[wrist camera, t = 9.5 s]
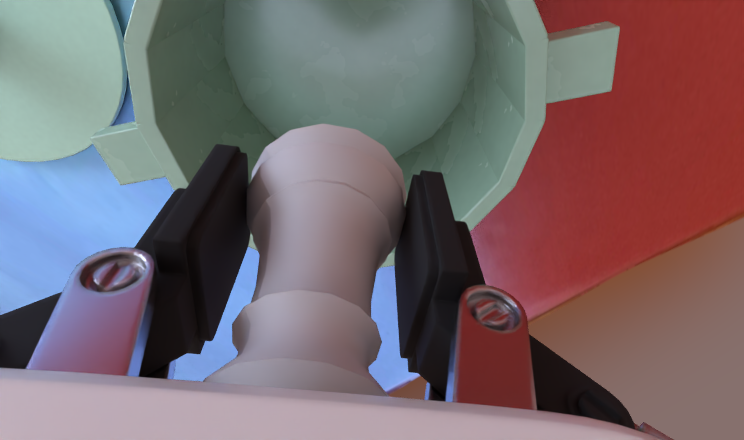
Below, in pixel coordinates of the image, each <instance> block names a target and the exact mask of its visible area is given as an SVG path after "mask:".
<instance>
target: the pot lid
mask: <svg viewBox="0 0 744 440" xmlns="http://www.w3.org/2000/svg"><path fill="white" fill-rule="evenodd" d="M126 84H127V64H126V58H125V51H124V45H123V37H122V32H121V29H120V26H119V23H118V20H117V17H116V14H115V11H114V9H113V6H112V4H111V2H110V0H0V158H1V159H6V160H14V161H23V162H43V161H50V160H58V159H61V158H65V157H69V156H72V155H74V154H77V153H79V152H81V151H83V150H85V149H87V148H88V147H89V146H91V145H92V144H93V143H92V142H91V140H90V137H91V136H92V135H94V134H95V133H96V132H97V131H99V130H100V129H101V128H106V127H110V126H112V124H113V123H114V121H115V120H116V118H117V117H118V114H119V112H120V109H121V107H122V104H123V101H124V96H125V92H126Z"/></svg>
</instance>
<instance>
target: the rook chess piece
mask: <svg viewBox="0 0 744 440" xmlns="http://www.w3.org/2000/svg"><path fill="white" fill-rule="evenodd" d="M406 198H407V194H406V189H405V183H404V178H403V173H402V169H401V168H400V167H399V165H398V164H397V163H396V161H395V160H394V159H393V157H392V156H391V154H390V153H389V152H388V150H387V149H386V148H385V146H383V145H382V144H380V143H378V142H377V141H375V140H373V139H372V138H370V137H368V136H367V135H365V134H363V133H362V132H360V131H358V130H357V129H351V128H346V127H340V126H334V125H329V124H318V125H313V126H308V127H303V128H298V129H293V130H290V131H288V132H287V133H285V134H284V135H282V136H281V137H279V138H278V139H277V140H275V141H274V142H272V143H271V144H269V145H268V146H266V147H265V149H264V151H263V152H262V154H261V156H260V158H259V160H258V161H257V163H256V165H255V167H254V169H253V170H252V181H251V183H250V184H249V186H248V188H247V211H246V216H247V225H248V227H249V229H250V231H251V233H252V235H253V242H254V244H255V246H256V248H257V250H258V252H259V254H260V258H259V266H258V274H257V282H256V288H255V291H254V295H253V298H252V301H251V303H250V304H248V305H246V306H245V307H244V308H243V309H242V311H241V312H240V313H239V315H238V316H237V318H236V319H235V321H234V322H233V324H232V341H233V344H234V346H235V348H236V349H237V351H238V355H237V357H236V358H235V359H233V360H232V361H230V362H229V363H227V364H226V365H224V366H223V367H221V368H220V369H219V370H217V371H216V372H214V373H213V374H211V375H210V376H208V377H207V378H205V379H204V381H203V382H213V383H226V384H238V385H251V386H263V387H276V388H288V389H301V390H313V391H325V392H338V393H350V394H362V395H374V396H386V397H389V395H388V394H387V393H386V392H385V391H384V390H383V388H382V387H381V386H380V385H379V384H378V383H377V381H376V380H375V379H374V378H373V377H372V376H371V374H370V373H369V370H368V367H369V366H370V365H371V364H372V363H373V362H374V361H375V360H376V358H377V355H378V352H379V349H380V346H381V343H382V341H381V338H380V335H379V331H378V328H377V325H376V323H375V322H374V321H373V320H372V319H371V299H372V293H373V288H374V282H375V277H376V271H377V270H378V269H379V268H380V267H381V266H382V264H383V263H384V262H385V261H386V260H387V256H388V255H389V254H390V253H391V252H392V250H393V249H394V248H395V247H396V246H397V243H398V241H399V238H400V235H401V231H402V228H403V224H404V221H405V217H406V209H405V201H406Z"/></svg>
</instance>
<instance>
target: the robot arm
mask: <svg viewBox="0 0 744 440" xmlns="http://www.w3.org/2000/svg"><path fill="white" fill-rule="evenodd" d="M248 186H249V181H248V157H247V153H243V152H241V151H240V148H239V147H238V146H230V145H223V144H216V145H215V146H214V148H213V149H212V151H211V152H210V154H209V155H208V157H207V158H206V160H205V161H204V163H203V164H202V166H201V167H200V169H199V170H198V172H197V173H196V174H195V176H194V177H193V179H192V180H191V182H190V183H189V185H188V186H187V188H186V189H185V188H178V189H176V190H175V191H174V193H173V194H172V195H171V197H170V198H169V200H168V201H167V202H166V204H165V205H164V207H163V208H162V209H161V211H160V212H159V214H158V215H157V216H156V218H155V219H154V221H153V222H152V224H151V225H150V226H149V228H148V229H147V231H146V232H145V233H144V235H143V236H142V238H141V239H140V240H139V242H138V243H137V245H136V246H135V247H134V248H128V247H120V248H111V249H107V250H104V251H100V252H97V253H95V254H93V255H91V256H89V257H87V258H86V259H84V260H83V261H82V262H80V263H79V264H78V265H77V266H76V267H75V269H74V270H73V271H72V273H71V275H70V277H69V279H68V281H67V283H66V285H65V287H64V290H63V292H60V293H58V294H55V295H53V296H50V297H47V298H45V299H42V300H40V301H37V302H34V303H32V304H29V305H26V306H24V307H21V308H19V309H16V310H13V311H11V312H8V313H5V314H3V315H0V440H673V439H672V438H670V437H668V436H666V435H665V434H663V433H661V432H660V431H658V430H656V429H655V428H652V427H651V426H650V425H648V424H646V423H644V422H643V423H642V424H641V425H640V426H637V425H636V424H634V422H633V421H632V418H631V416H630V414H629V412H628V411H627V409H626V408H625V407H624V406H623V404H622V403H621V402H620V401H619V400H618V399H617V398H616V397H615V396H613V395H612V394H611V393H610V392H609V391H607V390H606V389H604V388H603V387H602V386H600V385H599V384H598V383H596V382H595V381H593V380H592V379H591V378H589V377H588V376H586V375H585V374H584V373H582V372H581V371H580V370H578V369H577V368H575V367H574V366H572V365H571V364H570V363H568V362H567V361H566V360H564V359H563V358H561V357H560V356H559V355H557V354H556V353H554V352H553V351H552V350H550V349H549V348H548V347H546V346H545V345H543V344H542V343H541V342H539V341H538V340H536V339H535V338H534V337H532V336H531V335H529V331H528V322H527V316H526V313H525V310H524V309H523V307H522V306H521V304H520V303H519V302H518V301H517V300H516V299H515V298H514V297H513V296H512V295H510V294H509V293H507V292H505V291H504V290H502V289H499V288H496V287H493V286H488V285H486V284H485V281H484V277H483V274H482V271H481V268H480V264H479V261H478V258H477V255H476V251H475V248H474V245H473V241H472V238H471V235H470V232H469V228H468V225H467V223H466V222H464V221H456V220H455V219H454V215H453V211H452V207H451V204H450V200H449V196H448V193H447V189H446V185H445V181H444V178H443V174H442V173H441V172H433V171H426V170H421V172H420V174H419V175H416V174H413V176H412V179H411V184H410V188H409V192H408V197H407V201H406V205H405V209H406V217H405V221H404V224H403V228H402V231H401V235H400V238H399V241H398V243H397V246H396V248H395V255H394V264H395V280H396V296H397V312H398V328H399V344H400V356H401V358H408V371H409V372H414V373H419V374H420V375H421V376H422V377H423V378H424V379H425V380H427V386H426V393H425V400H421V399H420V400H419V399H409V398H397V397H386V396H374V395H362V394H350V393H338V392H325V391H313V390H301V389H288V388H276V387H263V386H251V385H238V384H226V383H213V382H200V381H186V380H173V378H174V371H175V365H176V363H175V359H177V358H179V357H181V356H183V355H184V354H186V353H192V354H200V353H201V350H202V348H203V345H204V343H205V341H212V340H213V339H214V336H215V334H216V331H217V328H218V326H219V323H220V320H221V318H222V315H223V312H224V309H225V307H226V304H227V301H228V299H229V296H230V293H231V291H232V288H233V285H234V283H235V280H236V277H237V275H238V272H239V269H240V266H241V264H242V261H243V258H244V256H245V253H246V250H247V248H248V245H249V241H250V229H249V227H248V225H247V216H246V211H247V188H248Z"/></svg>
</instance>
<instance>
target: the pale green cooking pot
mask: <svg viewBox="0 0 744 440" xmlns="http://www.w3.org/2000/svg"><path fill="white" fill-rule="evenodd" d="M619 31H620V27H619V26H617V25H615V24H613V23H610V22H608V21H606V22H601V23H596V24H592V25H587V26H582V27H577V28H573V29H568V30H563V31H558V32H554V33H549V34H547V31H546V29H545V26H544V24H543V21H542V19H541V16H540V14H539V11H538V9H537V6H536V4H535V1H534V0H135V1H134V4H133V8H132V11H131V15H130V18H129V22H128V25H127V29H126V32H125V36H124V42H123V45H124V51H125V58H126V64H127V71H128V77H129V83H130V90H131V96H132V103H133V109H134V115H135V121H134V122H129V123H124V124H120V125H115V126H110V127H106V128H101V129H100V130H99V131H97V132H96V133H95V134H94V135H92V136H91V137H90V140H91V142H92V143H93V145H94V146H95V148H96V149H97V151H98V152H99V154H100V155H101V157H102V158H103V160H104V161H105V163H106V164H107V166H108V167H109V169H110V170H111V172H112V173H113V175H114V176H115V178H116V179H117V181H118V182H119V184H120V185H126V184H131V183H136V182H141V181H147V180H152V179H157V178H162V177H166V178H167V179H168V181H169V183H170V185H171V186H172V188H173V190H176V189H178V188H185V189H186V188H187V186H188V185H189V183H190V182H191V180H192V179H193V177H194V176H195V174H196V173H197V172H198V170H199V169H200V167H201V166H202V164H203V163H204V161H205V160H206V158H207V157H208V155H209V154H210V152H211V151H212V149H213V148H214V146H215V145H216V144H223V145H230V146H238V147H239V148H240V151H241V152H243V153H247V157H248V181H249V184H250V183H251V181H252V170H253V169H254V167H255V165H256V163H257V161H258V160H259V158H260V156H261V154H262V152H263V151H264V149H265V147H266V146H268V145H269V144H271V143H272V142H274V141H275V140H277V139H278V138H279V137H281V136H282V135H284V134H285V133H287V132H288V131H290V130H293V129H298V128H303V127H308V126H313V125H318V124H329V125H334V126H340V127H346V128H351V129H357V130H358V131H360V132H362V133H363V134H365V135H367V136H368V137H370V138H372V139H373V140H375V141H377V142H378V143H380V144H382V145H383V146H385V148H386V149H387V150H388V152H389V153H390V154H391V156H392V157H393V159H394V160H395V161H396V163H397V164H398V165H399V167H400V168H401V169H402V173H403V178H404V183H405V189H406V194H407V197H408V192H409V188H410V184H411V179H412V176H413V174H416V175H419V174H420V172H421V170H426V171H433V172H441V173H442V174H443V178H444V181H445V185H446V189H447V193H448V196H449V200H450V204H451V207H452V211H453V215H454V219H455V220H456V221H464V222H466V223H467V225H468V228H469V232H470V231H471V230H472V229H473V228H474V227H475V226H476V225H477V224H478V223H479V222H480V221H481V220H482V219H483V218H484V217H485V216H486V215H487V214H488V213H489V212H490V211H491V210H492V209H493V208H494V207H495V206H496V205H497V204H498V203H499V202H500V201H501V200H502V199H503V198H504V197H505V196H506V195H507V194H508V193H509V192H510V191H511V190H512V189H513V187H515V185H516V183H517V181H518V179H519V177H520V174H521V172H522V170H523V168H524V166H525V164H526V161H527V159H528V157H529V155H530V153H531V151H532V148H533V146H534V144H535V142H536V140H537V137H538V135H539V133H540V131H541V129H542V127H543V124H544V122H545V121H544V120H545V118H546V104H547V103H553V102H558V101H563V100H568V99H573V98H579V97H584V96H589V95H594V94H599V93H605V92H610V91H611V90H612V83H613V75H614V68H615V60H616V53H617V45H618V38H619ZM406 201H407V198H406ZM406 201H405V205H406ZM248 247H250V248H252V249H255V250H257V248H256V246H255V244H254V242H253V235H252V233H251V231H250V241H249V245H248ZM395 248H396V247H395ZM395 248H394V249H393V250H392V252H391V253H390V254H389V255H388V256H387V260H386V261H385V262H384V263H383V264H382V266H381V267H387V266H394V265H395V264H394V255H395ZM257 251H258V250H257ZM381 267H380V268H381Z"/></svg>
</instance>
